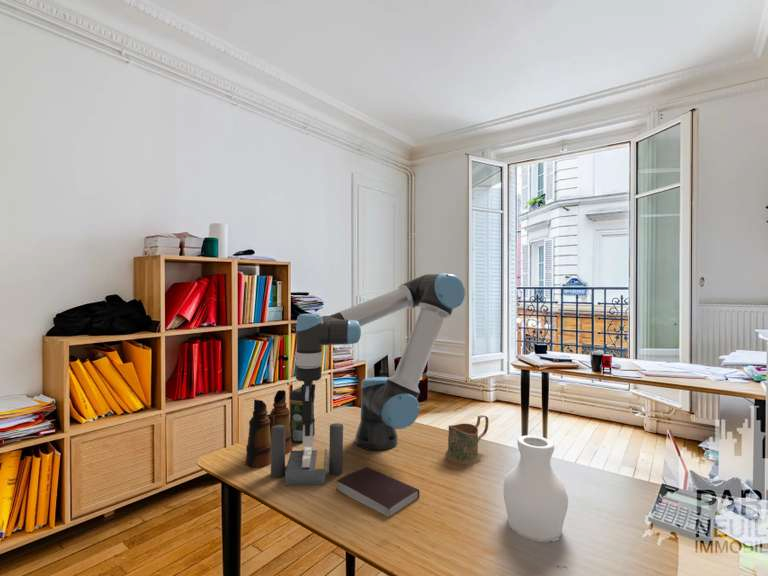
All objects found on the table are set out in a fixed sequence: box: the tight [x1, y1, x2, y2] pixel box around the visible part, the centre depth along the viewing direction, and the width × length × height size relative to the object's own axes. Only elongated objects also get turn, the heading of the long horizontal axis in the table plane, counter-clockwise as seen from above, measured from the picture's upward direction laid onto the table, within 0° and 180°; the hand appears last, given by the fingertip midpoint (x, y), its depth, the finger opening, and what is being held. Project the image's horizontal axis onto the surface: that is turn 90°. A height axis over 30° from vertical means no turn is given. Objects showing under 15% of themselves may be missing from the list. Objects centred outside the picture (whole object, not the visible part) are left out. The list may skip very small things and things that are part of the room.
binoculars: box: [244, 389, 293, 469], centre depth 128 cm, size 18×8×20 cm, turn 156°
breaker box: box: [284, 449, 328, 487], centre depth 117 cm, size 11×14×4 cm
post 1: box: [270, 425, 286, 479], centre depth 116 cm, size 4×4×14 cm
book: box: [336, 466, 421, 519], centre depth 106 cm, size 12×19×3 cm, turn 49°
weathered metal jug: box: [444, 415, 489, 465], centre depth 132 cm, size 12×18×12 cm, turn 124°
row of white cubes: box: [302, 445, 313, 468], centre depth 117 cm, size 2×11×2 cm, turn 7°
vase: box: [503, 434, 569, 543], centre depth 92 cm, size 14×14×20 cm
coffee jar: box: [289, 386, 316, 443], centre depth 144 cm, size 10×8×19 cm
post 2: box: [328, 422, 344, 476], centre depth 118 cm, size 4×4×14 cm
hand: (307, 445), depth 117 cm, fingers closed
